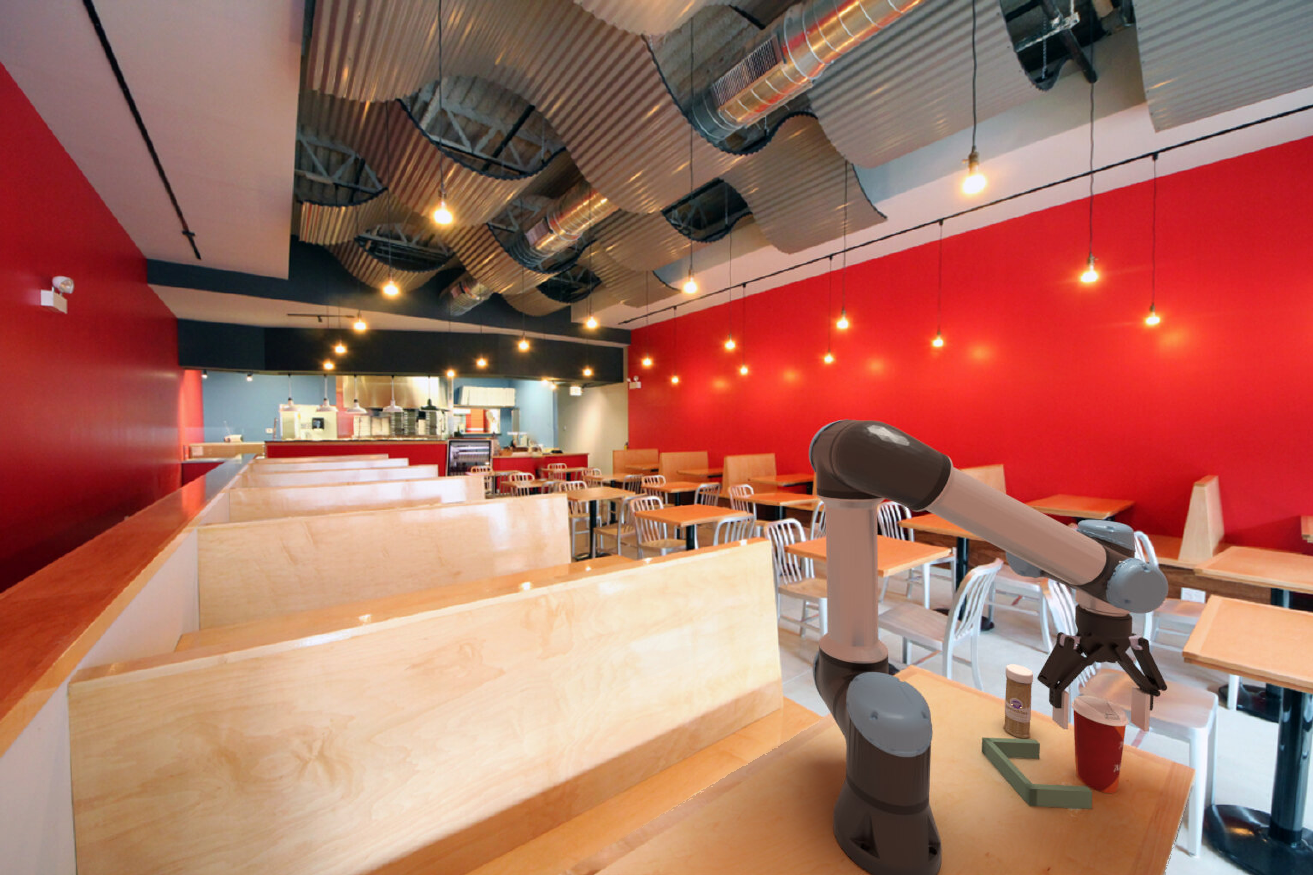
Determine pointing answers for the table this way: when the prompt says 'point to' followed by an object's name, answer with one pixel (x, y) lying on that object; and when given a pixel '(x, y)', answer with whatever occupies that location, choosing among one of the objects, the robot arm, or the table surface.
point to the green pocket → (1031, 793)
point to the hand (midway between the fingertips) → (1099, 725)
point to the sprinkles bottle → (1018, 700)
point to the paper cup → (1098, 742)
